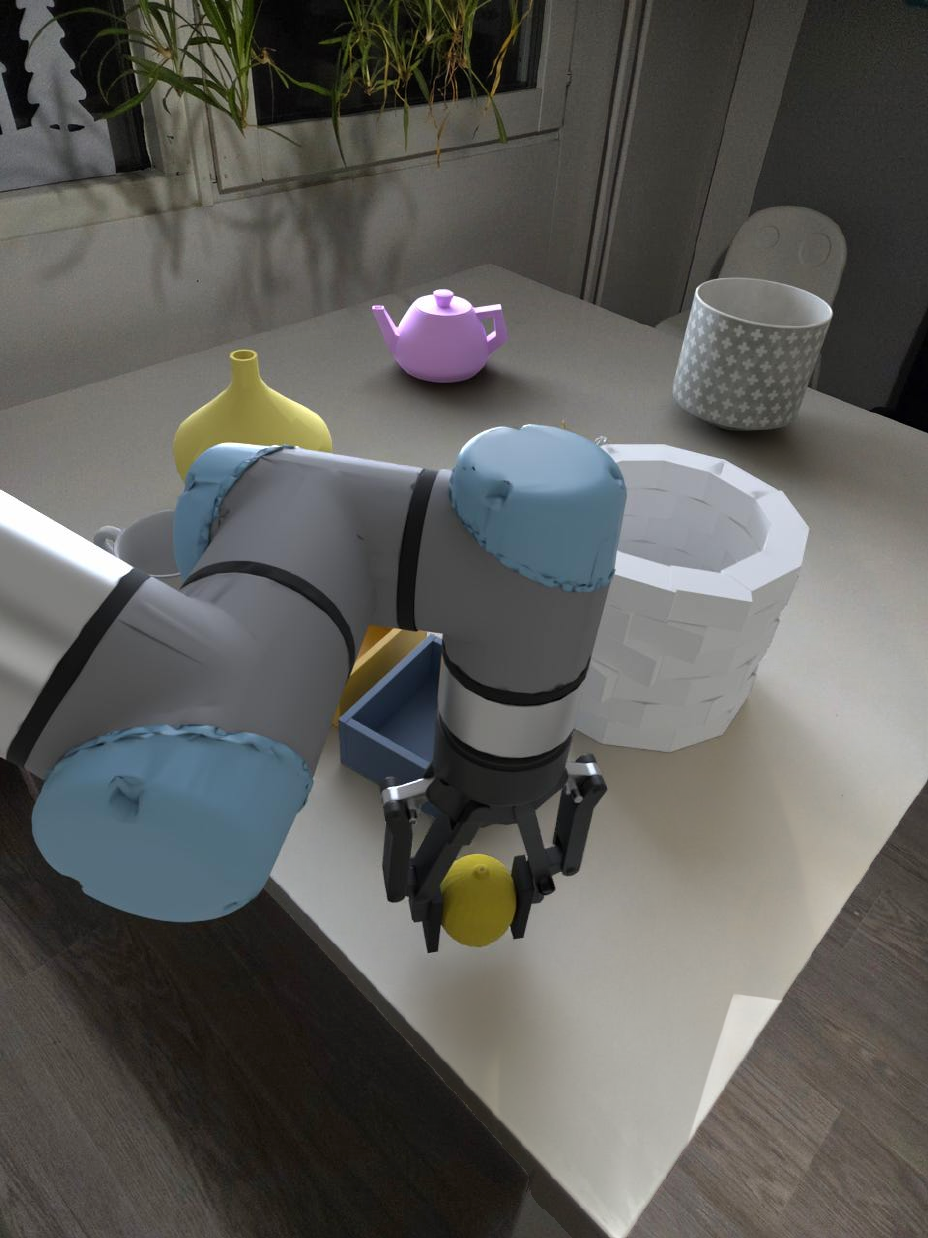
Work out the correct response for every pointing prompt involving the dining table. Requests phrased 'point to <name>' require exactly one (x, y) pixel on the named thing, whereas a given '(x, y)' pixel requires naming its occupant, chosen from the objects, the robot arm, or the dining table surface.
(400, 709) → the blue bin
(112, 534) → the teacup
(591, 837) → the dining table surface
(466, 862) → the lemon
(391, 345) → the teapot
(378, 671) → the yellow bin
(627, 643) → the white brick well
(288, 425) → the vase
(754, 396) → the planter
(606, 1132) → the dining table surface
